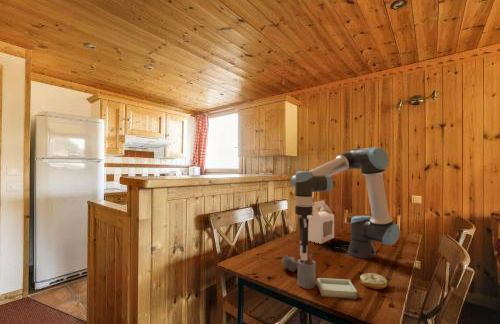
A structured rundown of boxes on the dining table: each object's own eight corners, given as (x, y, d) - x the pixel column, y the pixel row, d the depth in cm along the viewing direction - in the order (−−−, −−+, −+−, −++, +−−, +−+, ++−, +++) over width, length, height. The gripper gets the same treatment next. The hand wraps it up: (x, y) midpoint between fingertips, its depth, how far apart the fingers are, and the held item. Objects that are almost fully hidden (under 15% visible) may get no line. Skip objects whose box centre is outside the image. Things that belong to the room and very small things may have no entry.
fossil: (305, 271, 122) (305, 255, 122) (293, 277, 116) (293, 260, 116) (288, 265, 130) (288, 250, 130) (276, 269, 124) (276, 253, 125)
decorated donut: (359, 278, 116) (359, 270, 116) (384, 281, 112) (384, 273, 113) (361, 288, 106) (361, 279, 106) (389, 292, 103) (389, 283, 103)
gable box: (318, 234, 193) (318, 198, 193) (334, 237, 184) (334, 200, 184) (303, 240, 176) (303, 201, 177) (320, 244, 167) (320, 203, 168)
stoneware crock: (313, 281, 112) (313, 259, 112) (316, 289, 104) (316, 265, 105) (296, 280, 113) (297, 258, 113) (298, 287, 105) (298, 264, 105)
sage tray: (349, 285, 108) (349, 279, 108) (357, 298, 97) (357, 292, 97) (317, 283, 109) (317, 277, 110) (321, 296, 99) (321, 289, 99)
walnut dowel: (311, 281, 110) (314, 249, 110) (312, 285, 106) (316, 252, 107) (299, 279, 111) (302, 247, 111) (300, 283, 107) (303, 250, 107)
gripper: (294, 202, 119) (293, 251, 118) (296, 208, 102) (296, 264, 101) (309, 203, 118) (309, 251, 117) (315, 208, 101) (315, 265, 100)
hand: (303, 257), depth 109 cm, fingers closed on walnut dowel, 4 cm apart
